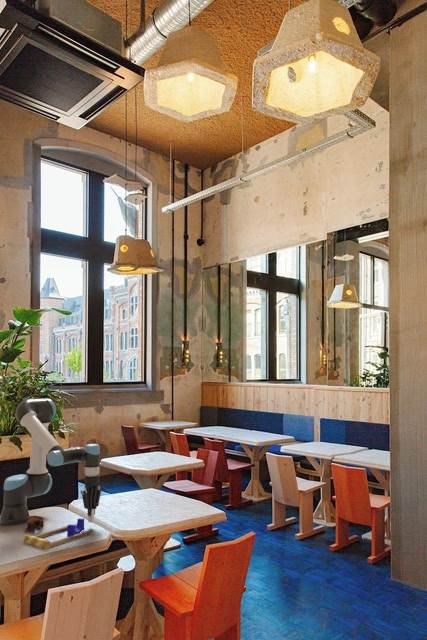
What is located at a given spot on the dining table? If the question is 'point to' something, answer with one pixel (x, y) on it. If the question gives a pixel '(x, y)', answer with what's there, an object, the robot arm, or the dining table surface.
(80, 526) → the cable clip
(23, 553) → the dining table surface
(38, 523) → the pottery mug
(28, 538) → the guide lane
